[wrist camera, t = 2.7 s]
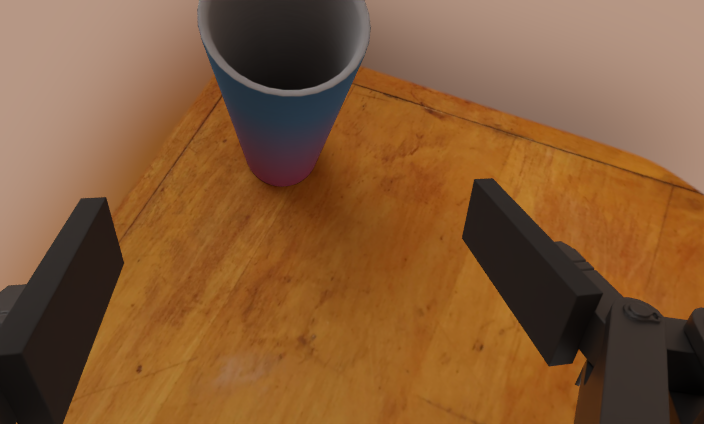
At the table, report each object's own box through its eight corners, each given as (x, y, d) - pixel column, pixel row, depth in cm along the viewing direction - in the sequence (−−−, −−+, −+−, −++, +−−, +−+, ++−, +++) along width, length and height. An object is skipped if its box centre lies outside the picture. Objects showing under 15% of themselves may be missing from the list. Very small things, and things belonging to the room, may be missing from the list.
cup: (343, 180, 33) (396, 69, 18) (252, 212, 31) (231, 118, 17) (309, 98, 34) (334, -69, 19) (219, 124, 32) (172, -36, 18)
